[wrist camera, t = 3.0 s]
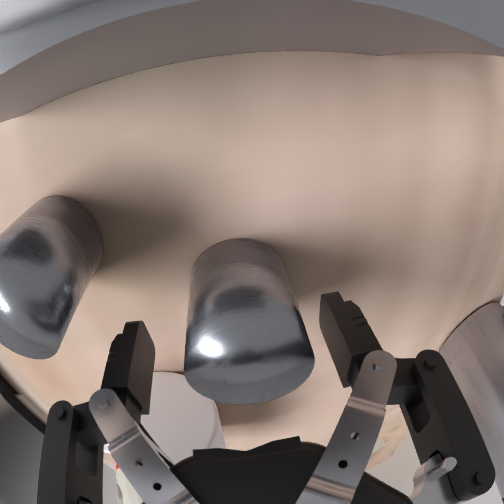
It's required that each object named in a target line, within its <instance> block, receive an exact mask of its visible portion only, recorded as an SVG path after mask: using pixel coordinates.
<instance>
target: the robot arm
mask: <svg viewBox="0 0 504 504" xmlns="http://www.w3.org/2000/svg"><path fill="white" fill-rule="evenodd" d="M319 322H320V328H321V331H322V334H323V337H324V339H325V342H326V344H327V347H328V349H329V352H330V354H331V357H332V359H333V362H334V364H335V367H336V370H337V372H338V375H339V377H340V380H341V383H342V385H343V388H346V387H349V386H351V388H352V393H351V395H350V398H349V399H348V401H347V404H346V406H345V408H344V411H343V413H342V415H341V418H340V420H339V422H338V424H337V426H336V429H335V431H334V433H333V435H332V437H331V439H330V441H329V443H328V446H327V447H325V446H322V445H320V444H316V443H312V442H301V441H300V437H299V436H296V437H291V438H286V439H281V440H275V441H271V442H269V443H267V444H264V445H262V446H259V447H256V448H254V449H251V450H248V451H239V450H231V449H223V448H210V449H193V456H190V457H187V458H185V459H183V460H181V461H179V462H178V463H177V464H175V463H174V462H173V461H172V460H171V459H170V458H169V457H168V456H167V455H166V454H165V453H164V451H163V450H162V449H161V448H160V447H159V445H158V444H157V443H156V442H155V440H154V439H153V438H152V436H151V435H150V434H149V432H148V431H147V430H146V428H145V427H144V426H143V424H142V423H141V415H149V412H150V400H151V389H152V379H153V370H154V361H155V347H154V343H153V341H152V339H151V337H150V335H149V333H148V331H147V328H146V326H145V324H144V322H143V321H132V322H126V323H125V326H124V330H123V334H117V336H116V337H115V339H114V340H113V342H112V343H111V347H110V351H109V353H110V354H109V355H108V359H107V360H108V361H107V363H106V367H105V372H104V376H103V380H102V385H101V389H100V390H98V391H96V392H95V393H94V394H93V395H92V396H91V398H90V400H89V402H86V403H82V404H79V405H75V406H72V405H71V404H70V403H69V402H67V401H63V400H62V401H58V402H56V403H55V404H53V405H52V407H51V408H50V410H49V414H48V419H47V424H46V429H45V435H44V441H43V447H42V454H41V462H40V472H39V481H38V495H37V504H103V501H102V500H103V497H102V487H103V485H102V484H103V481H102V480H103V479H102V478H103V453H104V444H109V446H108V450H109V452H110V453H111V455H112V457H113V458H114V460H115V461H116V463H117V464H118V466H119V467H120V469H121V471H122V472H123V473H124V475H125V476H126V478H127V479H128V481H129V482H130V484H131V485H132V486H133V488H134V489H135V490H136V492H137V493H138V494H139V496H140V497H141V498H142V500H143V502H142V503H141V504H461V503H463V502H466V501H468V500H470V499H472V498H475V497H477V496H479V495H481V494H484V493H485V492H487V491H488V490H489V489H490V488H491V486H492V485H493V483H494V480H495V482H496V484H497V487H498V489H499V492H500V495H501V497H502V501H503V503H504V306H503V307H502V306H501V305H500V303H497V302H494V303H490V304H487V305H485V306H483V307H482V308H480V309H478V310H477V311H476V312H474V313H473V314H472V315H470V316H469V317H468V318H467V319H466V320H465V321H463V322H462V323H461V324H460V325H459V326H458V327H457V328H456V330H455V331H454V332H453V333H452V334H451V335H450V336H449V338H448V339H447V340H446V342H445V343H444V345H443V346H442V348H441V350H440V351H439V353H438V352H437V351H434V350H423V351H421V352H420V353H419V354H418V355H417V357H416V358H404V359H401V358H394V356H393V355H392V354H390V353H388V352H386V351H383V349H382V348H381V346H380V344H379V342H378V340H377V338H376V337H375V335H374V333H373V331H372V329H371V327H370V326H369V324H368V322H367V320H366V318H365V317H364V315H363V313H362V311H361V310H360V308H359V307H358V306H357V305H356V304H355V303H353V302H352V301H351V300H350V301H345V302H344V301H343V299H342V297H341V295H340V293H339V292H332V293H327V294H322V295H321V301H320V315H319ZM396 404H399V405H400V408H401V410H402V413H403V416H404V418H405V421H406V424H407V426H408V429H409V432H410V435H411V437H412V440H413V443H414V446H415V449H416V452H417V455H418V457H419V460H420V463H421V466H420V467H419V468H418V469H417V470H416V472H415V474H414V477H413V481H414V489H413V492H412V494H411V496H410V497H408V496H406V495H405V494H403V493H402V492H400V491H398V490H396V489H394V488H392V487H391V486H389V485H387V484H385V483H384V482H382V481H380V480H378V479H377V478H375V477H373V476H371V475H370V474H368V473H367V472H365V471H364V470H365V468H366V465H367V463H368V460H369V458H370V456H371V453H372V450H373V448H374V445H375V442H376V440H377V437H378V434H379V431H380V429H381V426H382V423H383V420H384V417H385V413H386V410H385V407H386V405H396Z"/></svg>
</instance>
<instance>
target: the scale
mask: <svg viewBox="0 0 504 504" xmlns="http://www.w3.org/2000/svg"><path fill="white" fill-rule="evenodd" d="M266 51H332V52H347V53H359V54H368V55H377V56H379V55H391V54H405V53H472V54H485V55H495V56H504V0H0V122H3V121H6V120H9V119H13V118H16V117H19V116H21V115H23V114H25V113H27V112H29V111H31V110H33V109H35V108H37V107H39V106H42V105H44V104H46V103H48V102H50V101H53V100H55V99H58V98H60V97H62V96H65V95H67V94H70V93H72V92H75V91H78V90H80V89H83V88H86V87H89V86H91V85H94V84H97V83H100V82H103V81H106V80H109V79H113V78H116V77H119V76H123V75H126V74H130V73H134V72H137V71H141V70H145V69H149V68H153V67H158V66H162V65H167V64H172V63H177V62H182V61H187V60H193V59H199V58H206V57H213V56H221V55H229V54H239V53H251V52H266Z"/></svg>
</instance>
